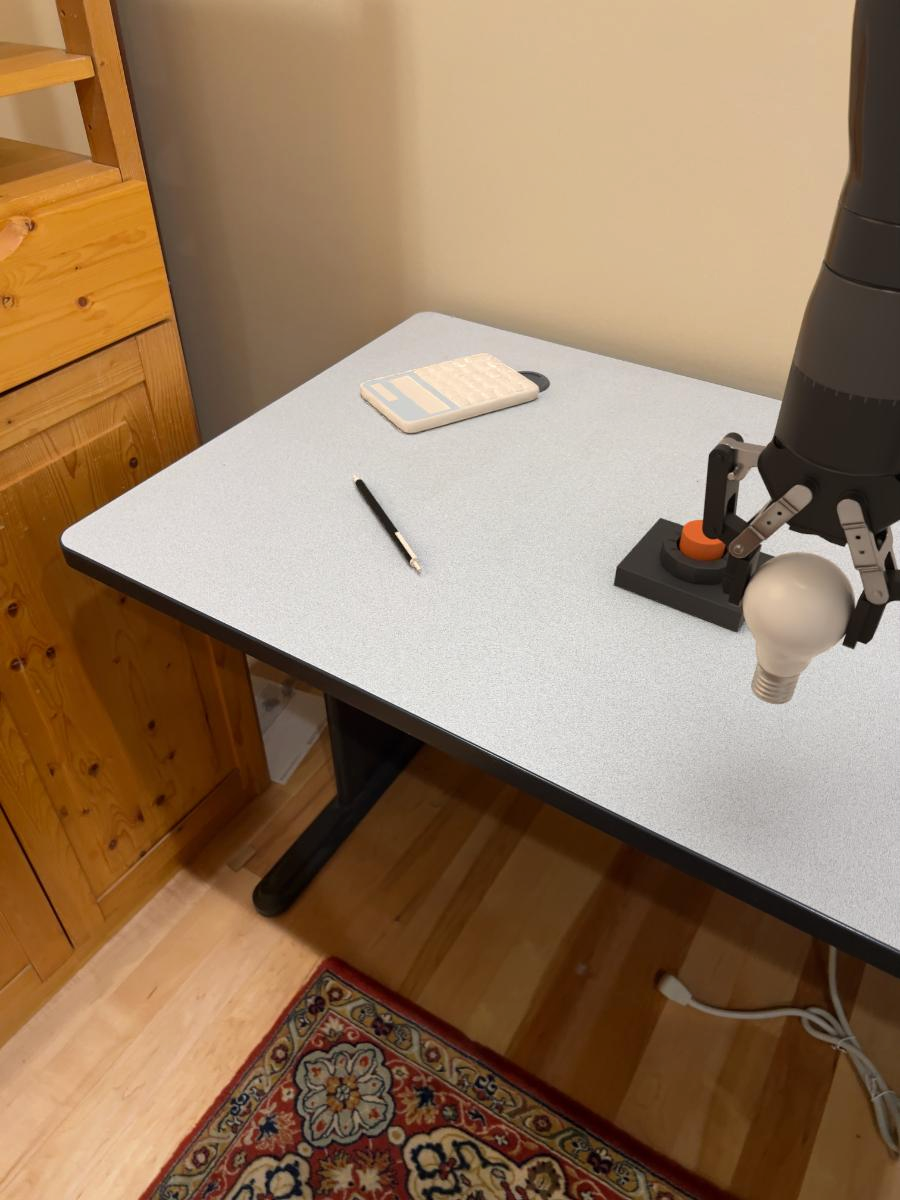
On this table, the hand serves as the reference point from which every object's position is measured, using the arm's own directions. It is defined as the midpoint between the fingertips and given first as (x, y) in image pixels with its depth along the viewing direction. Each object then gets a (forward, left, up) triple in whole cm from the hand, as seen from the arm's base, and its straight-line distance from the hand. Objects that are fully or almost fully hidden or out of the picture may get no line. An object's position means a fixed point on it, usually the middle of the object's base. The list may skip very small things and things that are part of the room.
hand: (793, 618), depth 54 cm
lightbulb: (0, 0, -7) cm, 7 cm away
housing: (+12, -22, -16) cm, 30 cm away
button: (+12, -22, -13) cm, 28 cm away
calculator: (+53, -41, -16) cm, 69 cm away
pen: (+42, -13, -16) cm, 47 cm away
